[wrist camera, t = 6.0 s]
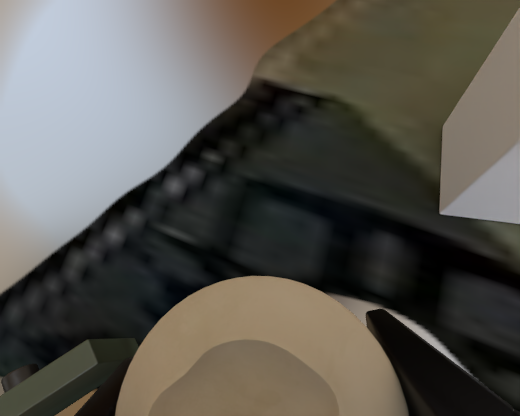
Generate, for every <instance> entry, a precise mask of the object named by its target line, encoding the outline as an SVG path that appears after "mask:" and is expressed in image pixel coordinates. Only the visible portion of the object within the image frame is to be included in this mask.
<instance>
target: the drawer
mask: <svg viewBox="0 0 520 416" xmlns="http://www.w3.org/2000/svg"><path fill="white" fill-rule="evenodd" d="M138 348H139V346H138V344H137V342H136V340H135V338H119V339H88V340H86V341H84V342H83V343H81V344H80V345H78V346H77V347H75V348H73V349H72V350H70V351H69V352H67V353H66V354H64V355H63V356H61V357H60V358H58V359H56V360H55V361H53V362H52V363H50V364H49V365H47V366H46V367H44V368H43V369H41V370H40V371H39V368H38V365H37V364H30V365H26V366H23V367H21V368H18V369H16V370H14V371H12V372H11V373H9V374H7V375H6V376H5V377H4V378H3V379H2V381H1V383H2V386H3V389H4V392H5V393H4V394H2V395H1V396H0V416H54V415H56V414H58V413H59V412H61V411H62V410H64V409H65V408H67V407H68V406H70V405H71V404H73V403H74V402H76V401H77V400H79V399H80V398H82V397H83V396H85V395H86V394H88V393H89V392H91V391H92V390H94V389H96V388H97V387H99V386H100V385H102V384H103V383H104V382H105V381H106V380H107V379H108V377H109V376H110V375H111V374H112V373H113V372H114V371H115V370H116V369H117V367H118V366H119V365H120V364H121V363H122V362H123V361H124V360H125V359H126V358H129V357H134V356H135V354H136V352H137V350H138Z"/></svg>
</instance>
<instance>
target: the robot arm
mask: <svg viewBox="0 0 520 416" xmlns="http://www.w3.org/2000/svg"><path fill="white" fill-rule="evenodd" d="M366 321H367V328H368V330H369V331H370V332H371V333H372V335H373V336H374V337H375V339H376V340H377V341H378V342H379V344H380V345H381V347H382V349H383V350H384V352H385V354H386V355H387V357H388V359H389V360H390V362H391V364H392V366H393V368H394V371H395V373H396V375H397V377H398V380H399V382H400V385H401V388H402V391H403V394H404V397H405V400H406V403H407V408H408V413H409V416H520V412H519V411H517V410H514V411H513V407H512V406H511V405H509V404H508V403H507V402H505V401H504V400H503V399H501V398H500V397H499V396H497V395H496V394H495V393H493V392H492V391H491V390H490V389H488V388H487V387H486V386H484V385H483V384H482V383H480V382H479V381H478V380H476V379H475V378H474V377H472V376H471V375H470V374H468V373H467V372H466V371H465V370H463V369H462V368H461V367H459V366H458V365H457V364H455V363H454V362H453V361H451V360H450V359H449V358H447V357H446V356H445V355H443V354H442V353H441V352H439V351H438V350H437V349H435V348H434V347H433V346H432V345H430V344H429V343H427V342H426V341H425V340H424V339H422V338H421V337H420V336H418V335H417V334H416V333H414V332H413V331H412V330H411V329H409V328H408V327H407V326H405V325H404V324H403V323H401V322H400V321H399V320H397V319H396V318H395V317H393V316H392V315H391V314H390V313H388V312H387V311H386V310H384V309H377V310H372V311H368V312H367V313H366ZM133 358H134V357H129V358H126V359H125V360H124V361H123V362H122V363H121V364H120V365H119V366H118V367H117V369H116V370H115V371H114V372H113V373H112V374H111V375H110V376H109V377H108V379H107V380H106V381H105V382H104V383H103V384H102V385H101V386H100V387H99V389H98V390H97V391H96V392H95V393H94V394H93V395H92V397H90V399H89V400H88V401H87V402H86V403H85V404H84V405H83V406H82V408H81V409H80V410H79V411H78V412H77V413H76V414H75V415H74V416H115V412H116V406H117V402H118V398H119V394H120V390H121V386H122V383H123V381H124V378H125V375H126V373H127V370H128V368H129V365H130V363H131V361H132V360H133Z"/></svg>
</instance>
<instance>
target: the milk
mask: <svg viewBox="0 0 520 416" xmlns="http://www.w3.org/2000/svg"><path fill="white" fill-rule="evenodd" d="M439 213H440V214H443V215H451V216H459V217H467V218H475V219H483V220H491V221H499V222H507V223H515V224H520V8H519V9H518V11H517V13H516V14H515V16H514V17H513V19H512V20H511V22H510V23H509V25H508V26H507V28H506V30H505V31H504V33H503V34H502V36H501V37H500V39H499V40H498V42H497V43H496V45H495V46H494V48H493V50H492V51H491V53H490V54H489V56H488V57H487V59H486V60H485V62H484V63H483V65H482V67H481V68H480V70H479V71H478V73H477V74H476V76H475V77H474V79H473V80H472V82H471V83H470V85H469V87H468V88H467V90H466V91H465V93H464V94H463V96H462V97H461V99H460V100H459V102H458V104H457V105H456V107H455V108H454V110H453V111H452V113H451V114H450V116H449V117H448V119H447V120H446V122H445V124H444V125H443V129H442V155H441V181H440V207H439Z"/></svg>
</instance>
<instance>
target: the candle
mask: <svg viewBox="0 0 520 416" xmlns="http://www.w3.org/2000/svg"><path fill="white" fill-rule="evenodd" d="M115 416H409V413H408V408H407V403H406V400H405V397H404V394H403V391H402V388H401V385H400V382H399V380H398V377H397V375H396V373H395V371H394V368H393V366H392V364H391V362H390V360H389V359H388V357H387V355H386V354H385V352H384V350H383V349H382V347H381V345H380V344H379V342H378V341H377V340H376V339H375V337H374V336H373V335H372V333H371V332H370V331H369V330H368V328H367V327H366V326H365V325H364V324H363V323H362V322H361V321H360V320H359V319H358V318H357V317H356V316H355V315H354V314H353V313H352V312H350V311H349V310H348V309H347V308H345V307H344V306H343V305H342V304H340V303H339V302H338V301H336V300H335V299H333V298H331V297H330V296H328V295H326V294H325V293H323V292H321V291H319V290H317V289H315V288H312V287H310V286H308V285H306V284H303V283H299V282H296V281H293V280H289V279H284V278H278V277H272V276H248V277H239V278H233V279H229V280H225V281H221V282H218V283H215V284H213V285H210V286H208V287H205V288H203V289H201V290H199V291H197V292H195V293H194V294H192V295H190V296H188V297H187V298H185V299H184V300H183V301H181V302H180V303H178V304H177V305H176V306H174V307H173V308H172V309H171V310H170V311H169V312H168V313H167V314H166V315H164V316H163V317H162V318H161V319H160V320H159V322H158V323H157V324H156V325H155V326H154V327H153V329H152V330H151V331H150V332H149V333H148V335H147V336H146V338H145V339H144V341H143V342H142V344H141V345H140V347H139V348H138V350H137V352H136V354H135V356H134V358H133V360H132V361H131V363H130V365H129V368H128V370H127V373H126V375H125V378H124V381H123V383H122V386H121V390H120V394H119V398H118V402H117V406H116V412H115Z"/></svg>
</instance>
